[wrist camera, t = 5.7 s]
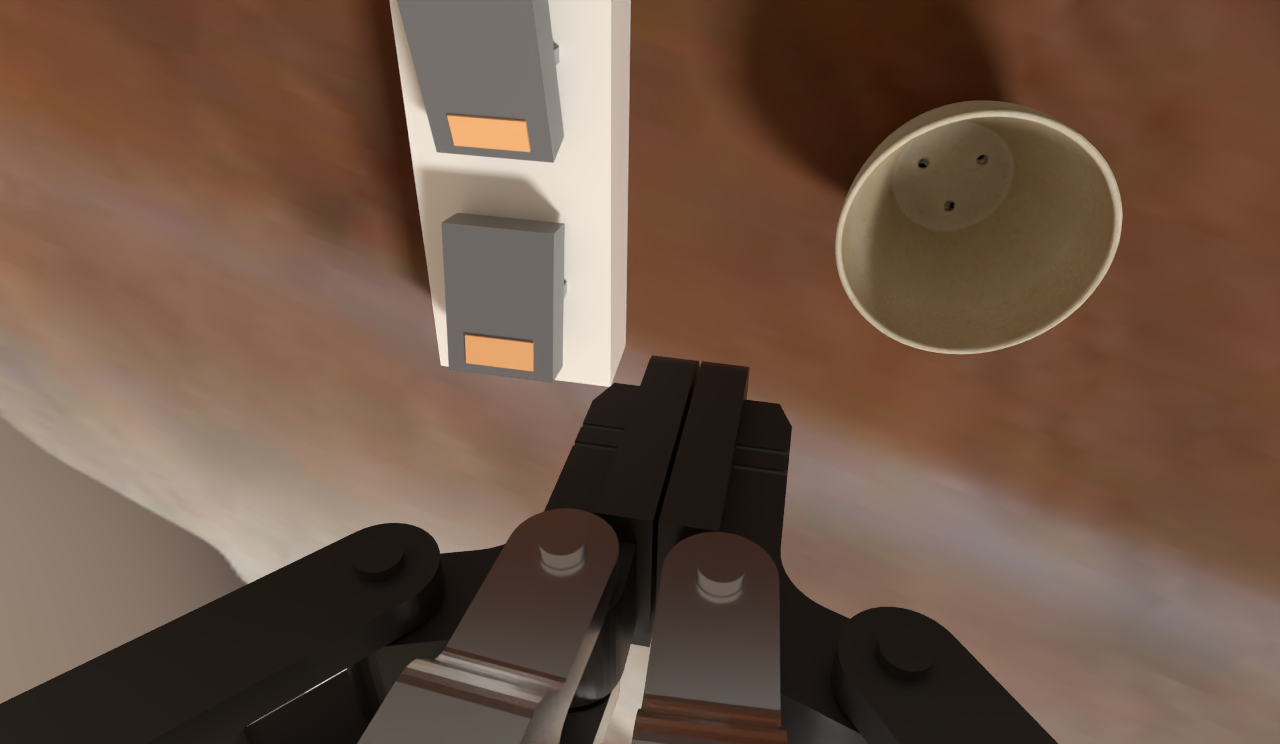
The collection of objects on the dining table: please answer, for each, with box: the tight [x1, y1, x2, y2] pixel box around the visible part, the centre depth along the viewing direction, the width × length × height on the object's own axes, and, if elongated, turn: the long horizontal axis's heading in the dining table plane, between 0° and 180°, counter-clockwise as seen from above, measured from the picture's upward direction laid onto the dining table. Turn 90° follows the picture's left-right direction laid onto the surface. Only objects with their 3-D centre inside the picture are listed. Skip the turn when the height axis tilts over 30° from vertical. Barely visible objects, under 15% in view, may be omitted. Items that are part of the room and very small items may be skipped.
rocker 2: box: [441, 213, 565, 383], centre depth 37 cm, size 5×7×2 cm
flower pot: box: [835, 100, 1122, 354], centre depth 34 cm, size 10×10×7 cm
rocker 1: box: [397, 0, 564, 163], centre depth 31 cm, size 5×7×2 cm
